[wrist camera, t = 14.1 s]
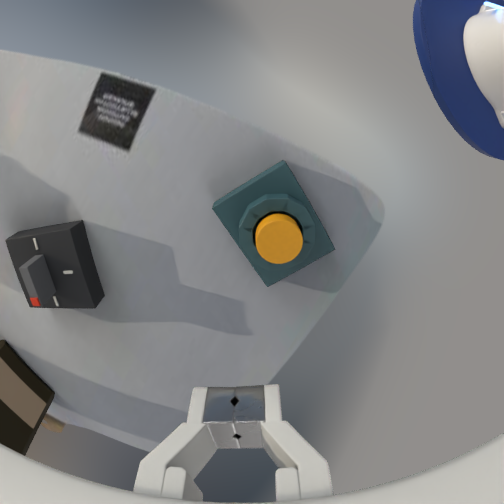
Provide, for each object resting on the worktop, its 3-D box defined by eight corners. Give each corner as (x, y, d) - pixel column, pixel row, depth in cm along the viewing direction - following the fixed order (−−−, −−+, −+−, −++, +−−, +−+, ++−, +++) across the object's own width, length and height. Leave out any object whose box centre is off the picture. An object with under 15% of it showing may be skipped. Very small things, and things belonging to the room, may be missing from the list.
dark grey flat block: (82, 220, 30) (69, 229, 27) (104, 295, 34) (94, 309, 31) (18, 231, 30) (4, 240, 27) (40, 296, 34) (29, 308, 31)
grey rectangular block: (34, 255, 28) (17, 268, 25) (43, 254, 28) (25, 268, 25) (47, 291, 30) (32, 307, 27) (56, 291, 30) (41, 307, 27)
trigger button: (307, 240, 27) (311, 249, 25) (270, 261, 28) (271, 272, 26) (285, 204, 26) (288, 211, 24) (246, 227, 27) (246, 235, 25)
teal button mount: (330, 241, 31) (340, 256, 27) (266, 277, 33) (268, 296, 29) (283, 159, 28) (288, 164, 24) (214, 202, 29) (209, 213, 26)
